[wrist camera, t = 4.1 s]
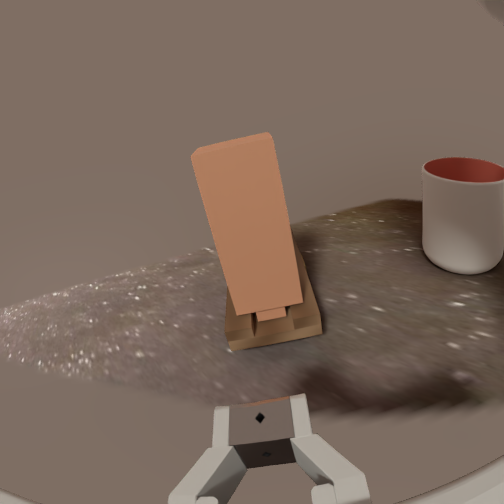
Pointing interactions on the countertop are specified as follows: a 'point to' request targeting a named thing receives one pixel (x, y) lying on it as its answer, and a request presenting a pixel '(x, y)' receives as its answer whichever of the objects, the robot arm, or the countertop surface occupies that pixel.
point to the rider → (250, 223)
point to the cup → (463, 214)
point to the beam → (279, 329)
